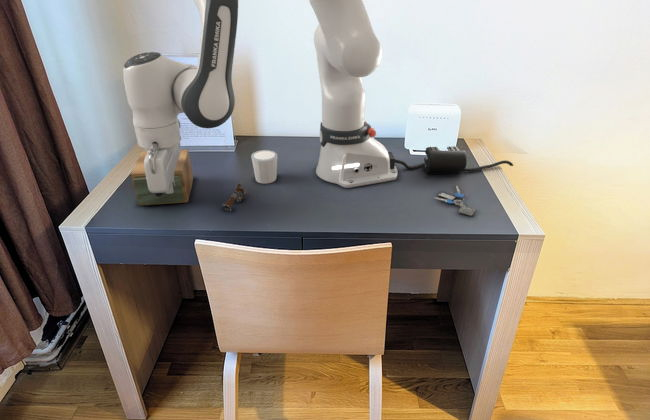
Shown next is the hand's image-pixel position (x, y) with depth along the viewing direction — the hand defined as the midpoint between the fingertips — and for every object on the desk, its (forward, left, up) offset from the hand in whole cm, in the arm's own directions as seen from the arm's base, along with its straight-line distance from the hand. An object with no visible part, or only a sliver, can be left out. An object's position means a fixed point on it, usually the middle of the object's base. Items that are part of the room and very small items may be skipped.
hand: (170, 190), depth 99 cm
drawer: (+3, -8, -5) cm, 10 cm away
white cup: (-22, -14, -6) cm, 27 cm away
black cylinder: (-71, -11, -6) cm, 72 cm away
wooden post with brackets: (-14, -2, -6) cm, 15 cm away
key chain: (-67, +5, -6) cm, 67 cm away
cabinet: (+3, -10, -6) cm, 12 cm away
